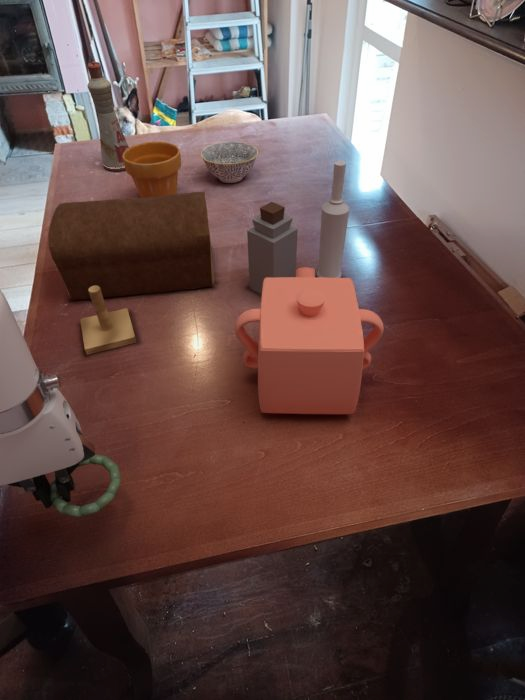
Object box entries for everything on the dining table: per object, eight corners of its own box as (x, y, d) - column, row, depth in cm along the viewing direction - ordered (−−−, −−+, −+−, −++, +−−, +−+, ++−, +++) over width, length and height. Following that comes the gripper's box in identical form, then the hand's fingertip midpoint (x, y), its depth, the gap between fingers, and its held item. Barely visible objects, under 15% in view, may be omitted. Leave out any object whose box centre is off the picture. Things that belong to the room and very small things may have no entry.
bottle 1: (105, 161, 147) (79, 57, 128) (135, 159, 148) (113, 55, 128) (101, 173, 141) (73, 66, 121) (132, 171, 142) (110, 64, 122)
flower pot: (195, 203, 126) (189, 154, 117) (146, 219, 121) (136, 169, 112) (171, 184, 135) (164, 137, 126) (124, 198, 129) (113, 149, 120)
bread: (80, 256, 109) (57, 189, 98) (210, 245, 112) (203, 178, 100) (68, 306, 96) (41, 235, 85) (216, 291, 99) (208, 221, 88)
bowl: (226, 162, 145) (225, 136, 140) (269, 174, 138) (269, 148, 133) (191, 181, 136) (188, 154, 131) (235, 195, 129) (234, 168, 124)
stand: (86, 355, 86) (69, 310, 79) (82, 324, 92) (65, 280, 85) (136, 342, 88) (124, 297, 81) (128, 313, 94) (116, 269, 87)
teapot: (244, 317, 93) (239, 236, 80) (361, 318, 92) (374, 237, 79) (234, 421, 75) (227, 337, 62) (379, 423, 74) (401, 339, 61)
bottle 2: (315, 286, 100) (324, 168, 82) (317, 271, 103) (326, 156, 86) (340, 288, 99) (354, 170, 81) (341, 273, 103) (355, 157, 85)
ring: (53, 527, 56) (50, 522, 55) (50, 469, 62) (47, 464, 61) (125, 504, 58) (124, 499, 57) (116, 450, 64) (114, 445, 63)
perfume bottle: (249, 288, 99) (246, 208, 87) (271, 273, 103) (271, 195, 90) (273, 301, 96) (273, 220, 84) (295, 286, 100) (298, 206, 87)
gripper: (84, 353, 51) (117, 452, 63) (-82, 390, 47) (-10, 488, 59) (91, 404, 46) (126, 501, 58) (-93, 451, 42) (-12, 544, 54)
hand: (57, 494), depth 59 cm, fingers closed on ring, 1 cm apart
